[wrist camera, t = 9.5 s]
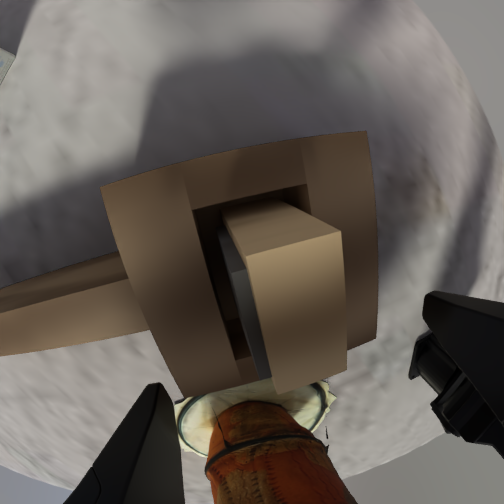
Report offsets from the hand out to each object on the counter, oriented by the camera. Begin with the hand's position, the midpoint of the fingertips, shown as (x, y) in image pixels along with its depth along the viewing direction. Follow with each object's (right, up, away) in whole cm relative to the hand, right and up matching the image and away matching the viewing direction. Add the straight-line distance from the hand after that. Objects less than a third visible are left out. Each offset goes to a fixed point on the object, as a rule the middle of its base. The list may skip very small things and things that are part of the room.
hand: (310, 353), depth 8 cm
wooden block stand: (-13, +1, +10) cm, 17 cm away
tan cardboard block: (-2, +3, +9) cm, 9 cm away
